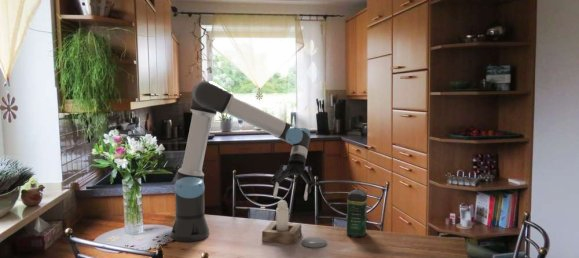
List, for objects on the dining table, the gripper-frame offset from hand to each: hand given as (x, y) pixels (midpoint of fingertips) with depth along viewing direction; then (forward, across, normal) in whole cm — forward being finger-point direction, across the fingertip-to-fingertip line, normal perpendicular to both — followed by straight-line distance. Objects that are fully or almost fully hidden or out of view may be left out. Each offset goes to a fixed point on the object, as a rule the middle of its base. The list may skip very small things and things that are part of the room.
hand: (289, 197), depth 177 cm
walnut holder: (+16, +1, -4) cm, 17 cm away
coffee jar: (+8, -28, -13) cm, 32 cm away
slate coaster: (+18, -13, -2) cm, 23 cm away
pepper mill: (+16, +1, -4) cm, 17 cm away
